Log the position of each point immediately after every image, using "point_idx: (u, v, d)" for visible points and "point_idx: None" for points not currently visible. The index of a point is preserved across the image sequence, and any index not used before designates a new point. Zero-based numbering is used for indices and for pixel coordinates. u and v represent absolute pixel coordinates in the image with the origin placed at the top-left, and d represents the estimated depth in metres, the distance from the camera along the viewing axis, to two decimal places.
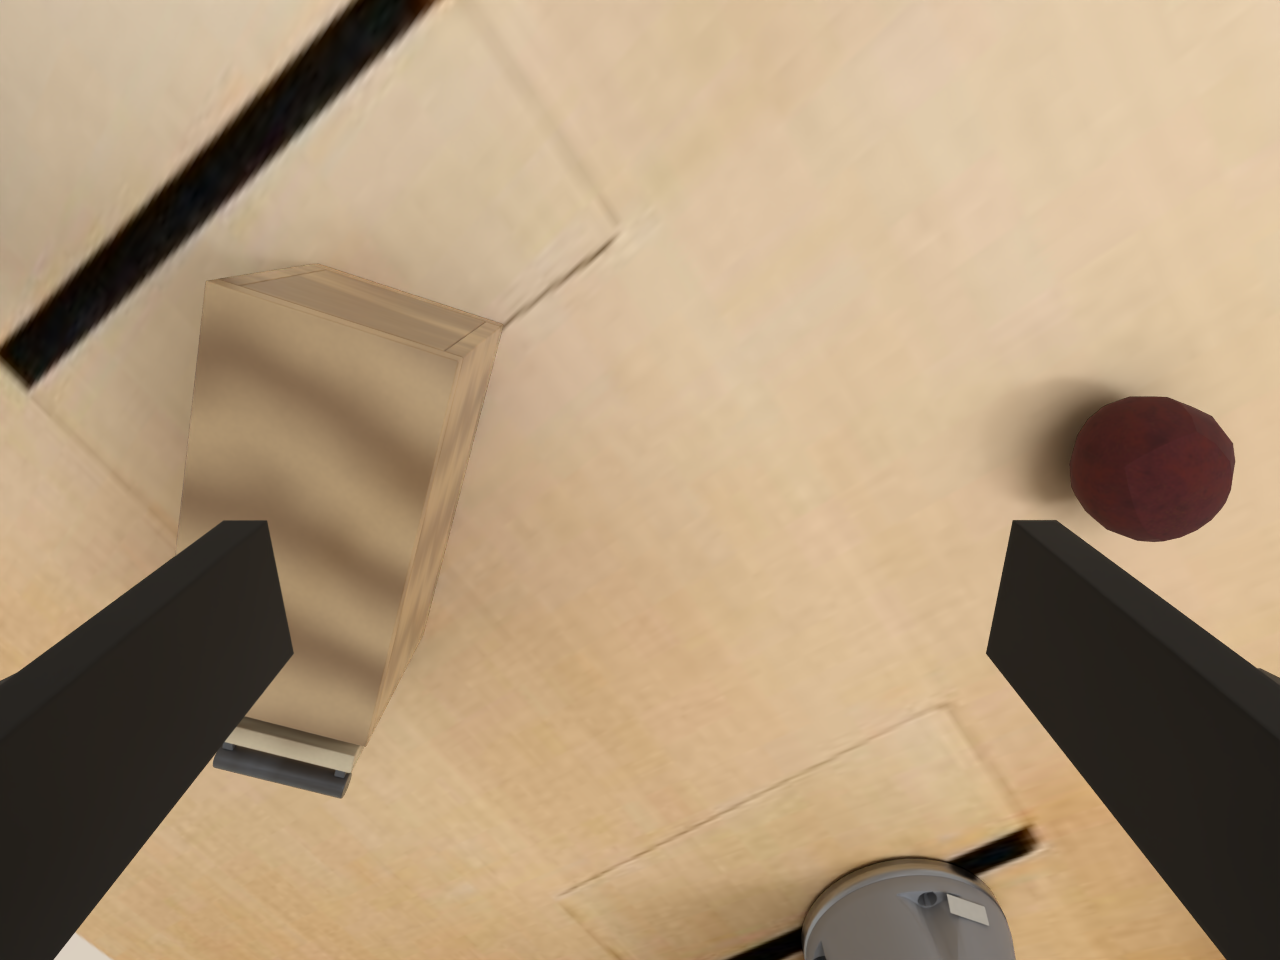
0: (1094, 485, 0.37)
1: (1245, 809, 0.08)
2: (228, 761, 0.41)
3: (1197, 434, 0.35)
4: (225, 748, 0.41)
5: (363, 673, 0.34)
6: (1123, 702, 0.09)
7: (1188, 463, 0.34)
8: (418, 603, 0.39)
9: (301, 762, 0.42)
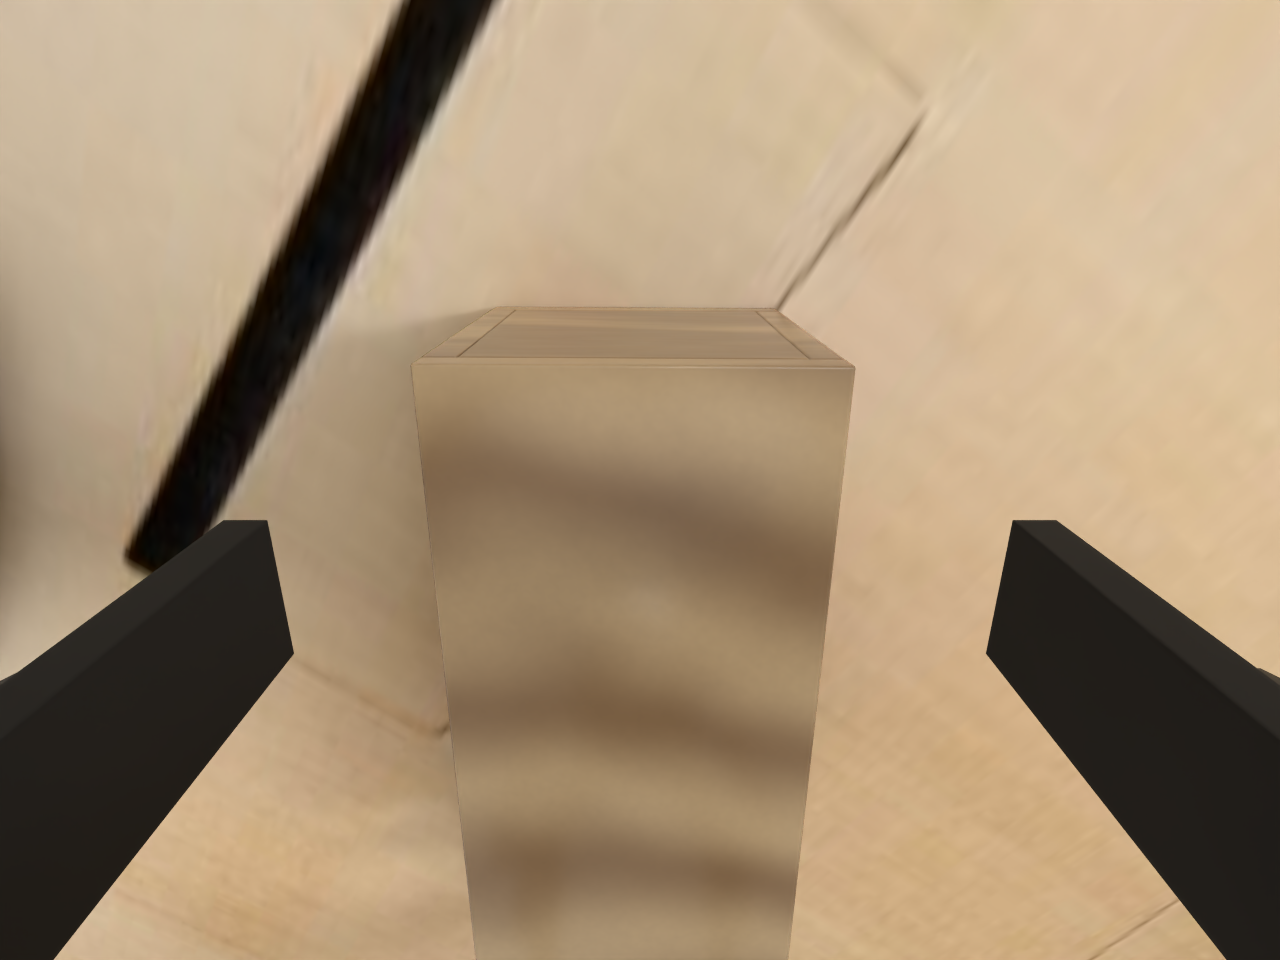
0: None
1: (1245, 809, 0.08)
2: None
3: None
4: None
5: (766, 888, 0.22)
6: (1123, 702, 0.09)
7: None
8: None
9: None
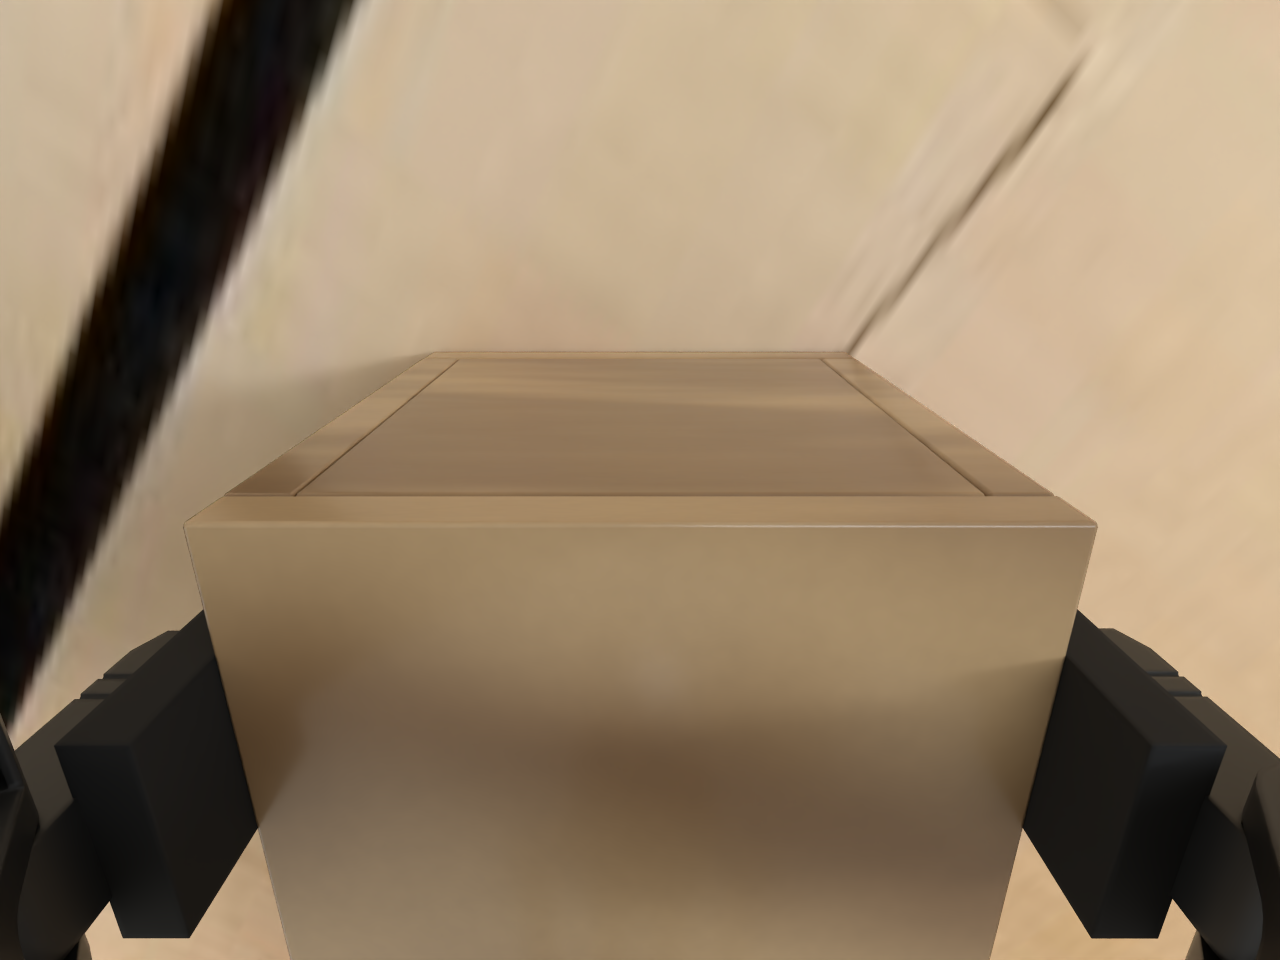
0: None
1: (1069, 746, 0.09)
2: None
3: None
4: None
5: None
6: None
7: None
8: None
9: None
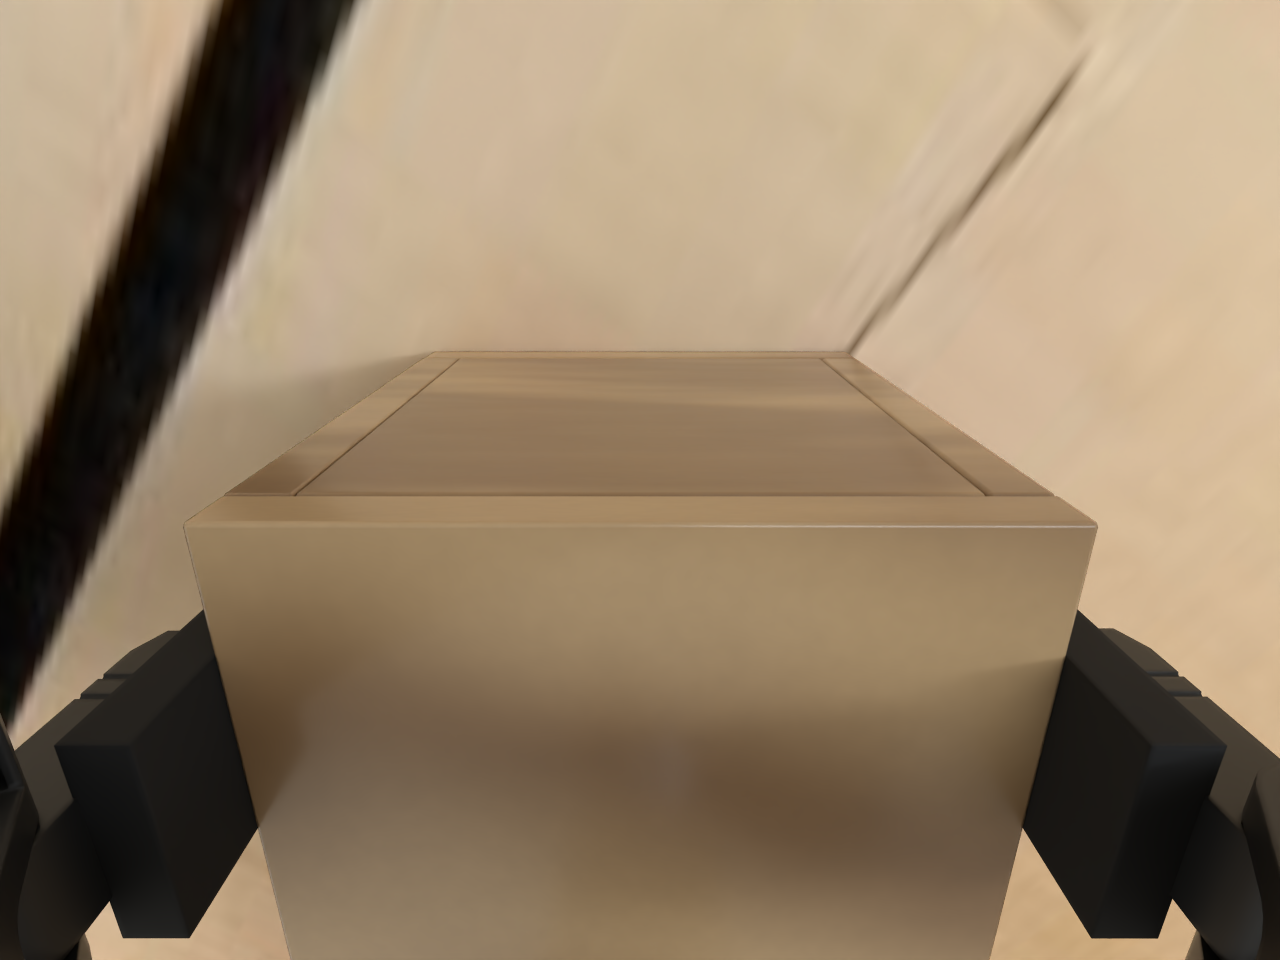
0: None
1: (1069, 746, 0.09)
2: None
3: None
4: None
5: None
6: None
7: None
8: None
9: None
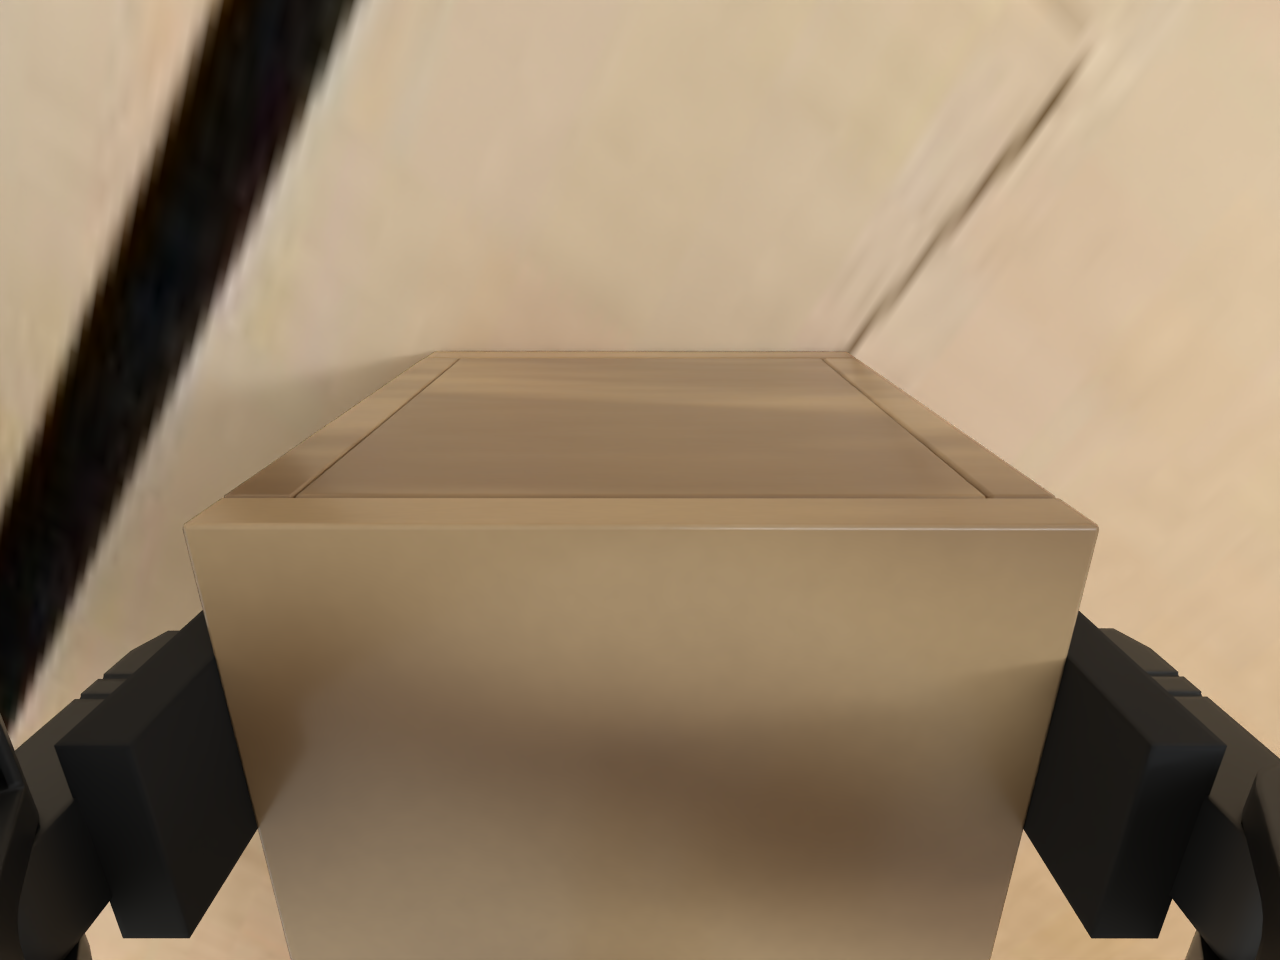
0: None
1: (1069, 746, 0.09)
2: None
3: None
4: None
5: None
6: None
7: None
8: None
9: None
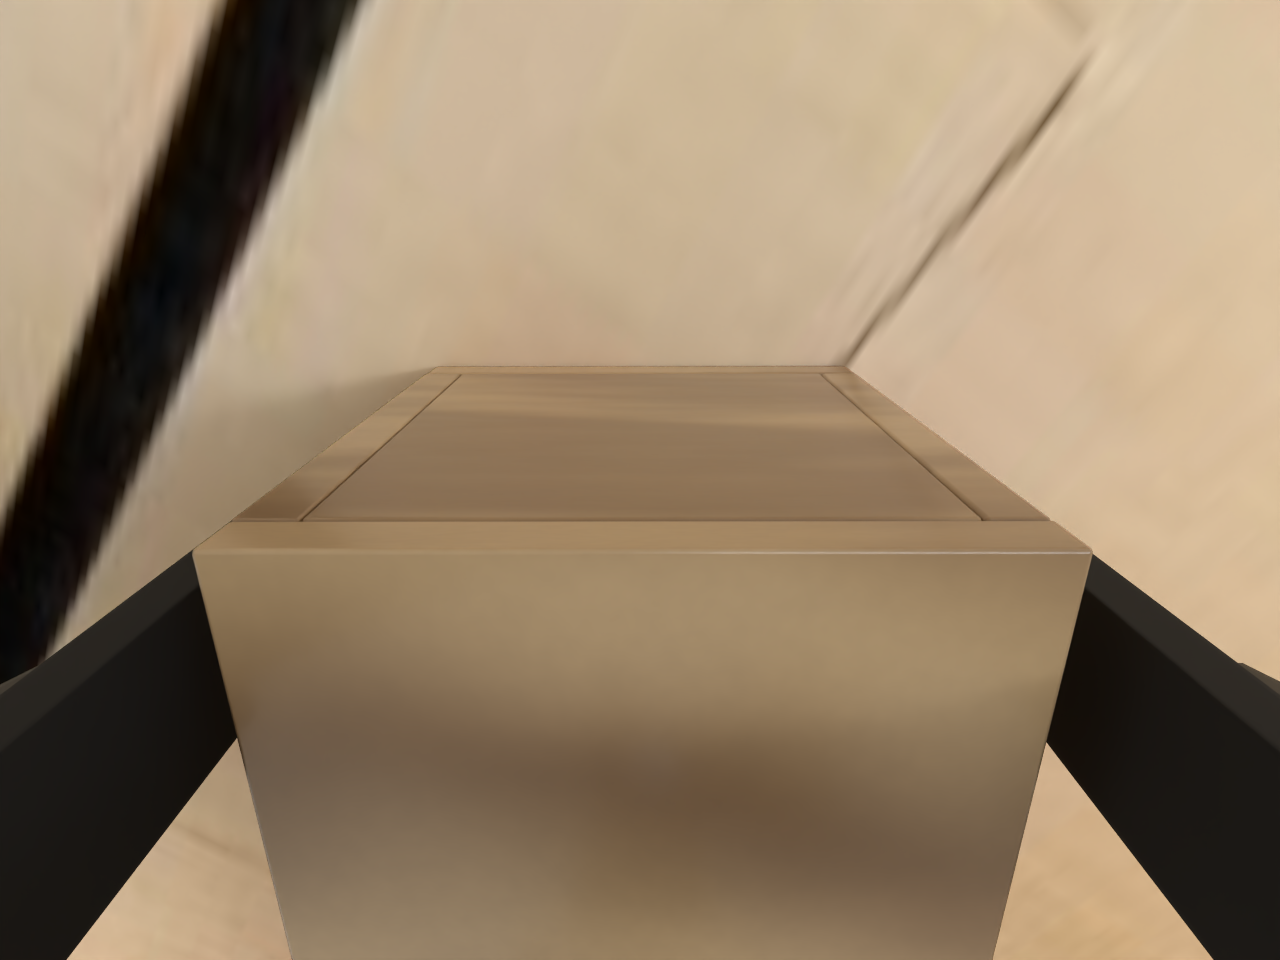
0: None
1: (1223, 801, 0.08)
2: None
3: None
4: None
5: None
6: (1107, 697, 0.10)
7: None
8: None
9: None
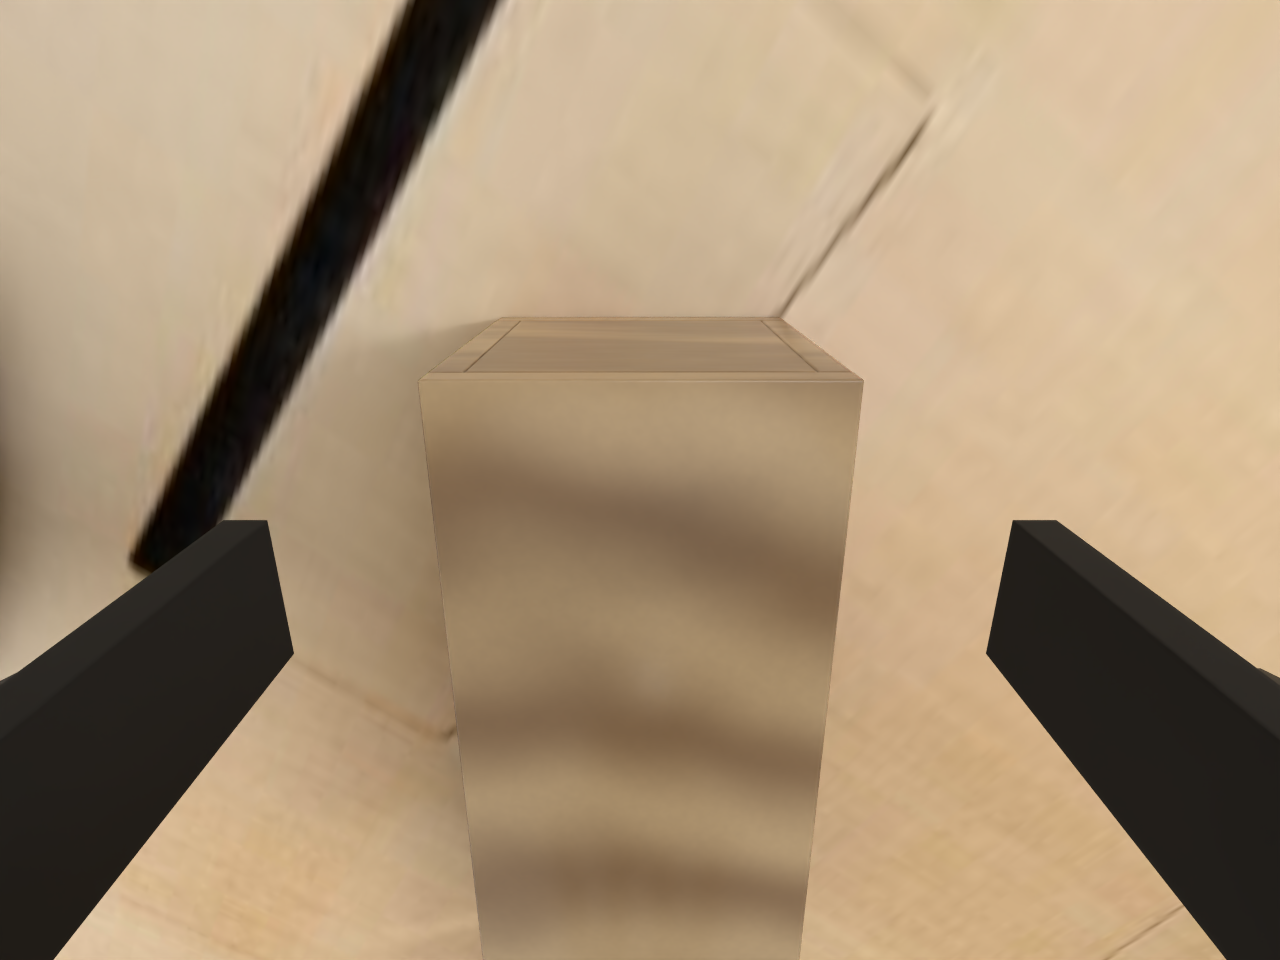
0: None
1: (1245, 809, 0.08)
2: None
3: None
4: None
5: (776, 900, 0.22)
6: (1123, 702, 0.09)
7: None
8: None
9: None
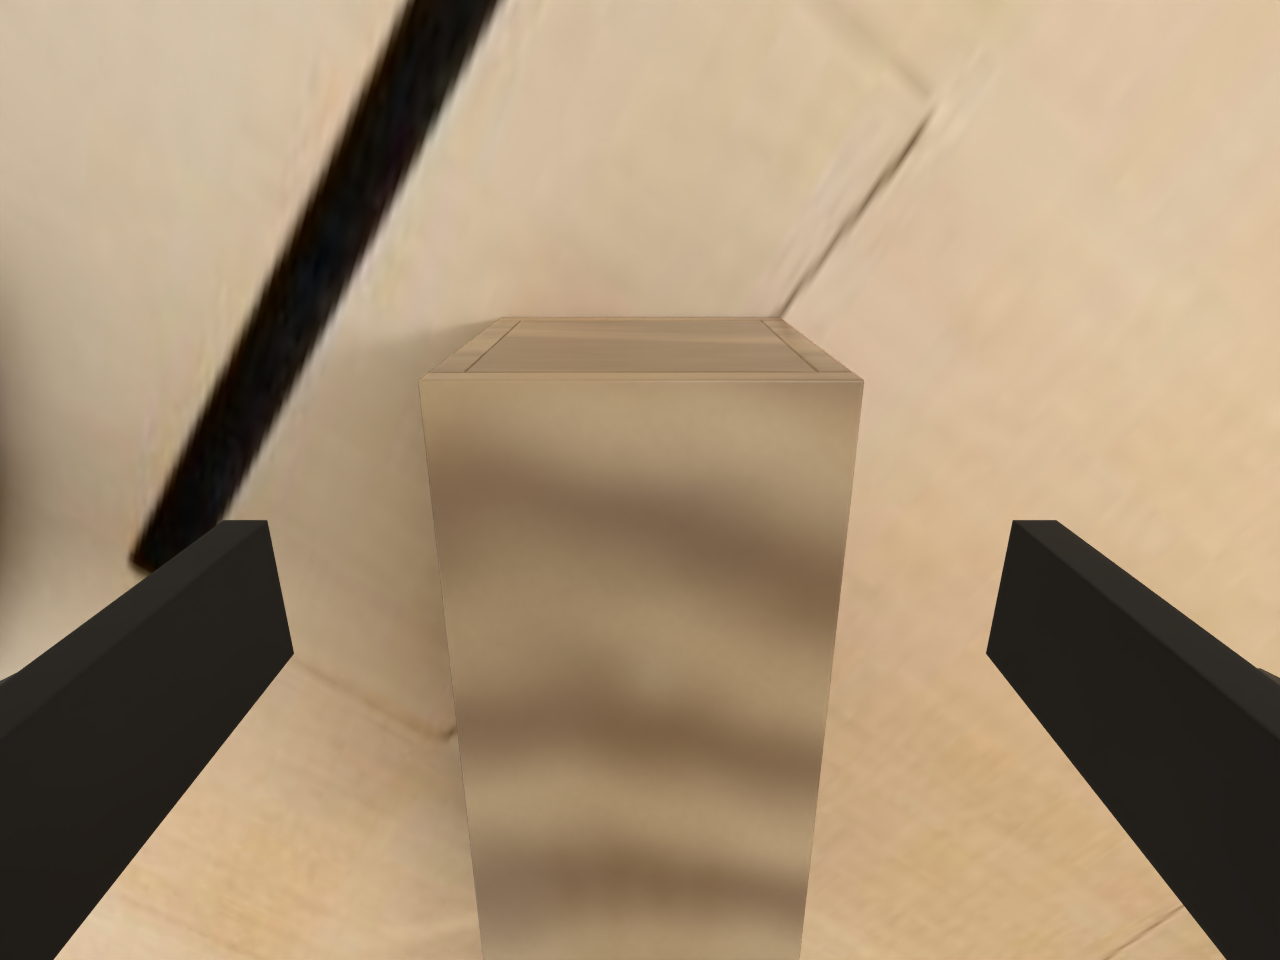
0: None
1: (1245, 809, 0.08)
2: None
3: None
4: None
5: (776, 900, 0.22)
6: (1123, 702, 0.09)
7: None
8: None
9: None
